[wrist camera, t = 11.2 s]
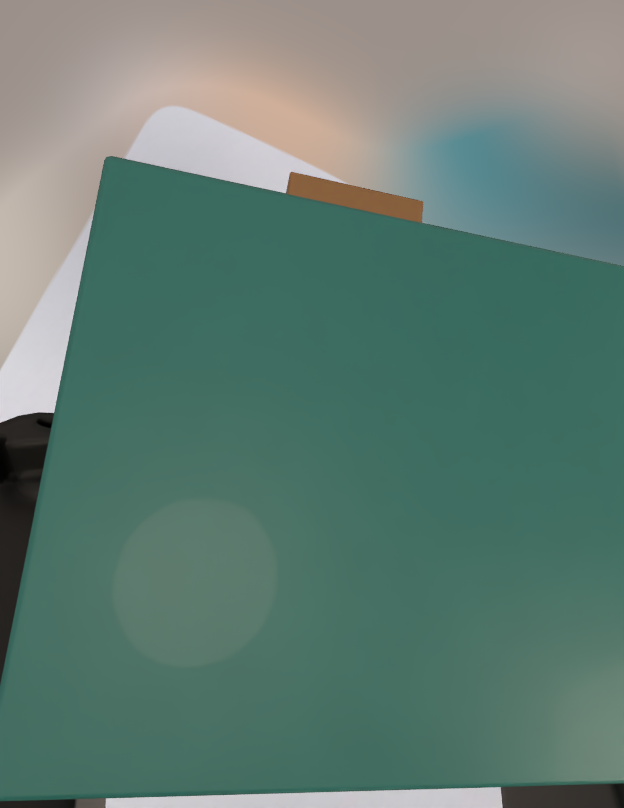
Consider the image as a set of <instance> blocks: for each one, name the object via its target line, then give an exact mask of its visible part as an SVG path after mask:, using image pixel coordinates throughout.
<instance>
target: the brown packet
mask: <svg viewBox="0 0 624 808" xmlns="http://www.w3.org/2000/svg"><path fill="white" fill-rule="evenodd" d="M286 194H290V195H295V196H299V197H304V198H309V199H313V200H318V201H323V202H327V203H332V204H337V205H341V206H346V207H351V208H355V209H360V210H365V211H369V212H374V213H379V214H383V215H388V216H393V217H397V218H402V219H406V220H411V221H416V222H420V223H422V211H423V202H422V201H418V200H414V199H410V198H406V197H401V196H397V195H392V194H388V193H383V192H379V191H374V190H370V189H365V188H360V187H356V186H352V185H347V184H343V183H339V182H334V181H330V180H325V179H321V178H316V177H312V176H307V175H303V174H298V173H294V172H291V173H290V175H289V181H288V186H287V192H286Z"/></svg>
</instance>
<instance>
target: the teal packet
mask: <svg viewBox="0 0 624 808" xmlns="http://www.w3.org/2000/svg"><path fill="white" fill-rule="evenodd" d="M620 783H624V266H621V265H616V264H611V263H607V262H602V261H597V260H592V259H588V258H583V257H579V256H574V255H569V254H564V253H560V252H555V251H551V250H546V249H541V248H537V247H532V246H527V245H523V244H518V243H513V242H509V241H504V240H499V239H495V238H490V237H485V236H481V235H476V234H472V233H467V232H462V231H458V230H453V229H448V228H444V227H439V226H434V225H430V224H425V223H420V222H416V221H411V220H406V219H402V218H397V217H393V216H388V215H383V214H379V213H374V212H369V211H365V210H360V209H355V208H351V207H346V206H341V205H337V204H332V203H327V202H323V201H318V200H313V199H309V198H304V197H299V196H295V195H290V194H285V193H281V192H276V191H271V190H267V189H262V188H257V187H253V186H248V185H244V184H239V183H234V182H230V181H225V180H220V179H216V178H211V177H206V176H202V175H197V174H192V173H188V172H183V171H178V170H174V169H169V168H164V167H160V166H155V165H150V164H146V163H141V162H136V161H132V160H127V159H122V158H118V157H113V156H110V157H107V158H106V159H105V160H104V165H103V170H102V176H101V181H100V186H99V190H98V196H97V200H96V205H95V210H94V216H93V221H92V226H91V231H90V236H89V241H88V246H87V251H86V256H85V261H84V266H83V271H82V276H81V281H80V286H79V291H78V296H77V301H76V306H75V311H74V316H73V321H72V326H71V331H70V336H69V341H68V346H67V351H66V356H65V361H64V367H63V372H62V377H61V382H60V387H59V392H58V397H57V402H56V407H55V412H54V417H53V422H52V427H51V432H50V437H49V442H48V447H47V452H46V457H45V462H44V467H43V472H42V477H41V482H40V487H39V492H38V497H37V502H36V507H35V512H34V518H33V523H32V528H31V533H30V538H29V543H28V548H27V553H26V558H25V563H24V568H23V573H22V578H21V583H20V588H19V593H18V598H17V603H16V608H15V613H14V618H13V623H12V628H11V633H10V638H9V643H8V648H7V653H6V658H5V664H4V669H3V674H2V679H1V684H0V801H26V800H61V799H96V798H131V797H166V796H201V795H236V794H270V793H305V792H340V791H375V790H410V789H445V788H480V787H515V786H550V785H585V784H620Z"/></svg>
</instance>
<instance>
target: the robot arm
mask: <svg viewBox="0 0 624 808" xmlns="http://www.w3.org/2000/svg"><path fill="white" fill-rule="evenodd" d="M53 417H54V413H33V414H27V415H21V416H17V417H14V418H12V419H9V420H7V421H4V422H1V423H0V684H1V679H2V674H3V669H4V664H5V658H6V653H7V648H8V643H9V638H10V633H11V628H12V623H13V618H14V613H15V608H16V603H17V598H18V593H19V588H20V583H21V578H22V573H23V568H24V563H25V558H26V553H27V548H28V543H29V538H30V533H31V528H32V523H33V518H34V512H35V507H36V502H37V497H38V492H39V487H40V482H41V477H42V472H43V467H44V462H45V457H46V452H47V447H48V442H49V437H50V432H51V427H52V422H53ZM501 794H502V804H503V808H624V783H620V784H585V785H550V786H515V787H501ZM105 802H106V798H96V799H61V800H26V801H0V808H105Z"/></svg>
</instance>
